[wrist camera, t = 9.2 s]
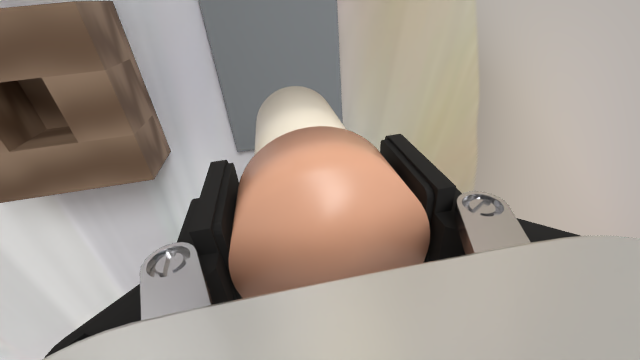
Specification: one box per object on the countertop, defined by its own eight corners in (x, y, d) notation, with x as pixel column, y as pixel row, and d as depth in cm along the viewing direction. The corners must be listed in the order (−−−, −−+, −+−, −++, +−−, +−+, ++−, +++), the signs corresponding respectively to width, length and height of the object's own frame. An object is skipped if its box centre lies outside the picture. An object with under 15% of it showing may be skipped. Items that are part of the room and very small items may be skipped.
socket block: (-75, 18, 23) (-168, 23, 18) (112, 1, 25) (74, 1, 20) (31, 171, 31) (-14, 205, 26) (170, 151, 32) (154, 179, 27)
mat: (194, -21, 25) (193, -22, 24) (333, -34, 26) (335, -34, 26) (237, 149, 33) (237, 152, 33) (341, 134, 35) (343, 136, 34)
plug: (237, 83, 16) (200, 191, 7) (339, 70, 16) (441, 153, 7) (257, 173, 19) (252, 339, 9) (343, 160, 19) (421, 304, 10)
